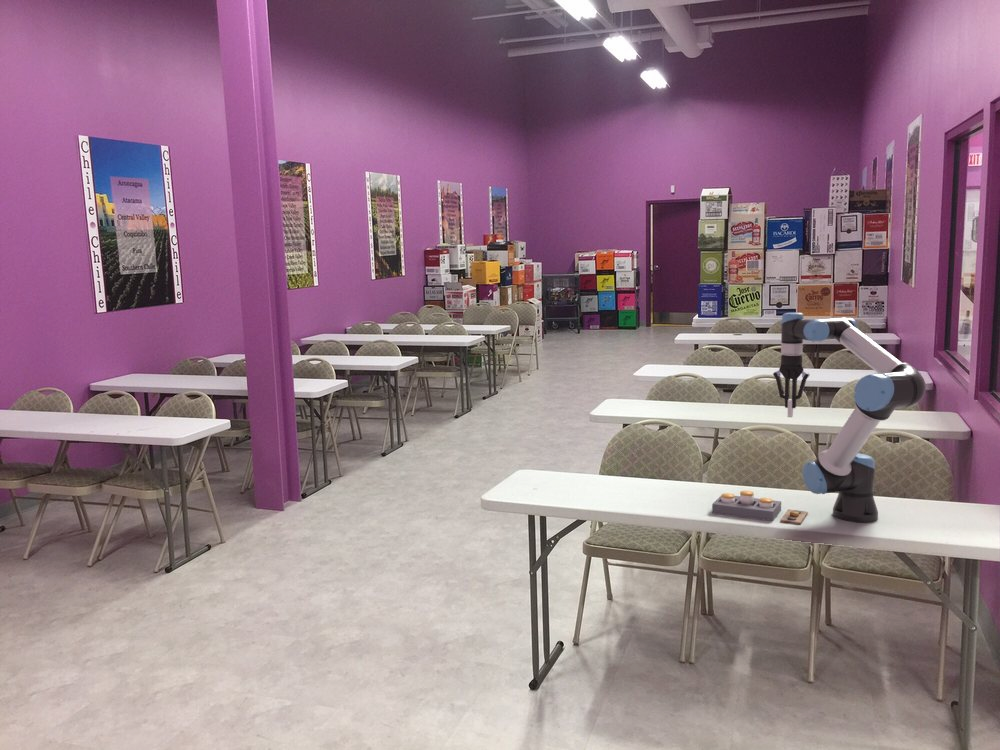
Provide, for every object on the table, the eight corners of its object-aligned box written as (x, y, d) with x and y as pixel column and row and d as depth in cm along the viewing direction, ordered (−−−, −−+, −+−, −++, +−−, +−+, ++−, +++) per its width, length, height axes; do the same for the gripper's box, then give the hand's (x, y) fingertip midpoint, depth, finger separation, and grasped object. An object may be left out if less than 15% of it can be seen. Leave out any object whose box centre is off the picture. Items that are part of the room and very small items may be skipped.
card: (807, 513, 300) (807, 508, 300) (800, 524, 288) (800, 519, 288) (788, 511, 304) (788, 506, 303) (780, 522, 292) (780, 516, 291)
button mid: (754, 503, 305) (755, 491, 304) (751, 506, 301) (752, 494, 300) (741, 501, 307) (742, 490, 307) (738, 504, 303) (738, 493, 302)
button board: (781, 510, 305) (781, 501, 304) (773, 521, 293) (773, 511, 292) (722, 503, 316) (722, 494, 315) (712, 513, 304) (712, 503, 303)
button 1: (735, 505, 309) (736, 494, 308) (732, 508, 304) (732, 497, 304) (723, 503, 311) (723, 492, 310) (719, 507, 307) (719, 495, 306)
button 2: (774, 510, 302) (774, 498, 301) (771, 513, 297) (771, 502, 297) (760, 508, 304) (761, 497, 303) (757, 512, 300) (758, 500, 299)
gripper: (811, 353, 303) (810, 416, 306) (775, 352, 310) (774, 413, 313) (808, 356, 297) (806, 419, 300) (771, 354, 303) (770, 417, 306)
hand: (790, 416), depth 306 cm, fingers closed
